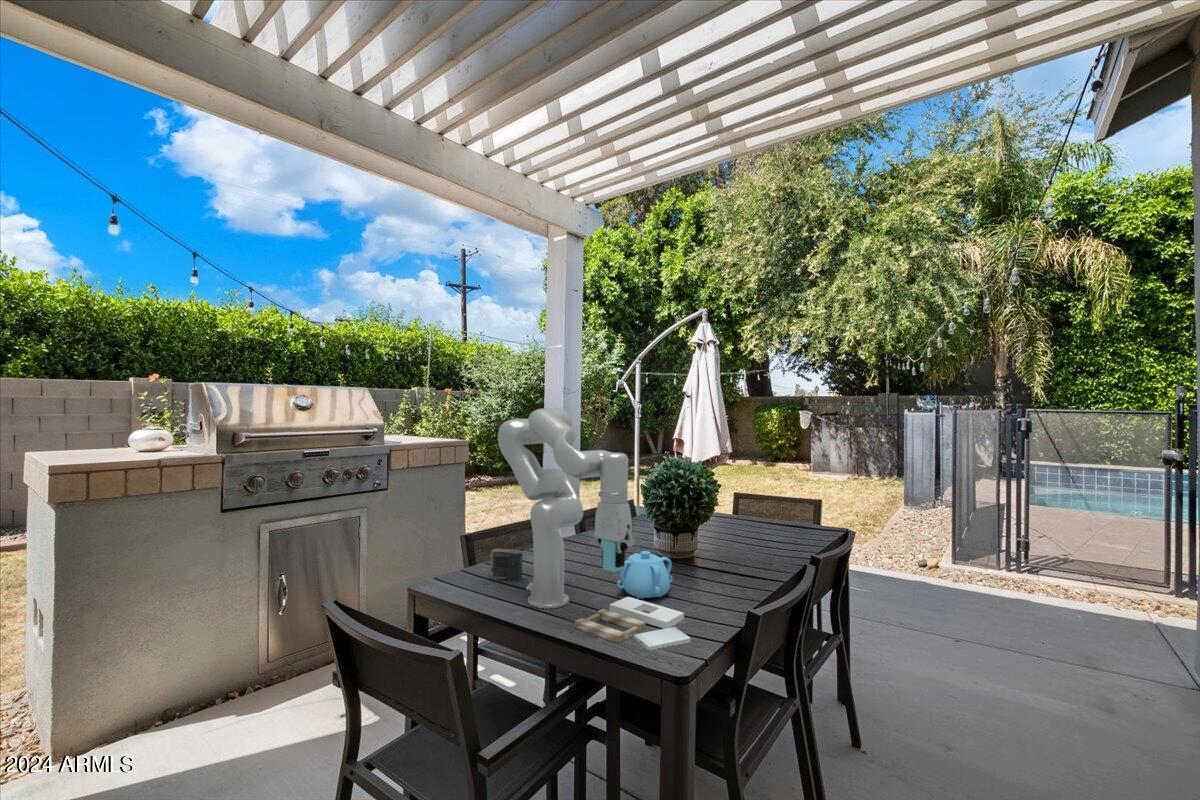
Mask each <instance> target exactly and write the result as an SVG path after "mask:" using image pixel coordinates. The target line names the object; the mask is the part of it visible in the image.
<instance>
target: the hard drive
mask: <svg viewBox="0 0 1200 800" xmlns="http://www.w3.org/2000/svg"><path fill="white" fill-rule="evenodd" d="M632 637H633V639H634V640H635V641H637V642H638V643H639V644H640V645H641V646H643V648H645V649H646V650H647V651H654V650H658V648H659V649H663V647H664V648H668V646H669V647H673V646H672V645H674V646H678V644H679V645H683V643H684V644H687V643H688V642H689V643H691V641H692V639H691V637H690V636H689V635H687V634H685V633H684V632H683V631H681V630H680V629H679V628H677V627H675V626H672V627H670V628H666V629H663V628H660V629H655V630H652V631H647V632H639V633H637V634H635V635H633V636H632Z"/></svg>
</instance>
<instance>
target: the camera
mask: <svg viewBox="0 0 1200 800" xmlns="http://www.w3.org/2000/svg"><path fill="white" fill-rule="evenodd" d="M489 553H490V554H489V555H490V556H489V558H490V559H489V573H488V574H489V578H490V579H491V578H496V579H495V580H500V579H508V580H507V581H512V580H517V581H516V582H520V581H521V580H523V552H522V550H519V549H518V550H516V549H511V548H510V549H509V548H507V549H506V548H493V549H492V550H491V551H490V552H489ZM520 579H521V580H520Z"/></svg>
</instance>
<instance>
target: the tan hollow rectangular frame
mask: <svg viewBox="0 0 1200 800" xmlns="http://www.w3.org/2000/svg"><path fill="white" fill-rule="evenodd" d="M600 620H602V621H605V622H607V623H611V624H614V625H617V626H620V627H623V628H625V629H627V630H625V631H621V630H618V629H615V628H612V627H610V626H607V625H603V624H600V623H599V622H597V621H600ZM646 624H647V623H646V622H643V621H640V620H637V619H634V618H630V617H627V616H624V615H621V614H618V613H615V612H612V611H609V610H608V609H605V608H602V609H600V610H596V613H594V614H593V615H590V616H589V617H587V618H583V617H581V618H578V619H577V620H574V628H575V627H576V629H577V628H579V629H578V630H580V629H581V631H583V632H586V633H589V634H592V635H594V636H597V637H599V638H603V639H604V640H605V639H606V640H608V641H610V642H614V643H616V644H619V643H621V642H623V641H625V640H627V639H629V638H631V637H633V635H635V634H640V633H642V631H645V630H646Z"/></svg>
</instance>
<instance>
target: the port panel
mask: <svg viewBox="0 0 1200 800" xmlns="http://www.w3.org/2000/svg"><path fill="white" fill-rule="evenodd" d="M608 611H612V612H615V613H618V614H621V615H624V616H627V617H630V618H634V619H637V620H640V621H643V622H646V624H649V625H651V626H653V627H654V626H655V627H658V628H660V629H666V628H671V627H675V625H677V624H679V623H681V622H683V621H684V620H685V613H684V612H683V611H681V610H680V611H678V610H676V609H672V608H668V607H666V606H662V605H658V604H655V603H652V602H649V601H645V600H643V599H642V600H639V599H636V597H631V596H626V597H624V598H622V599H619V600H616V601H614V602H613V603H610V604H609V610H608ZM644 611H645V612H644Z"/></svg>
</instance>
